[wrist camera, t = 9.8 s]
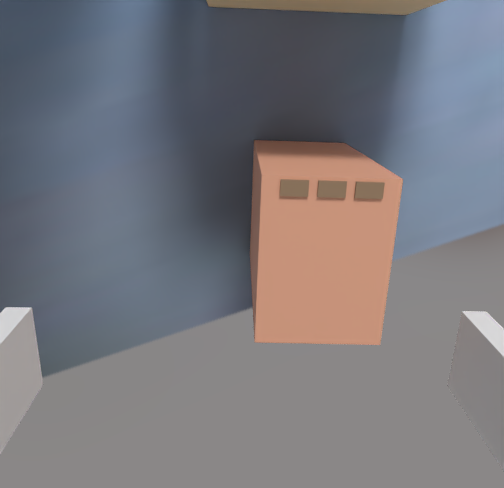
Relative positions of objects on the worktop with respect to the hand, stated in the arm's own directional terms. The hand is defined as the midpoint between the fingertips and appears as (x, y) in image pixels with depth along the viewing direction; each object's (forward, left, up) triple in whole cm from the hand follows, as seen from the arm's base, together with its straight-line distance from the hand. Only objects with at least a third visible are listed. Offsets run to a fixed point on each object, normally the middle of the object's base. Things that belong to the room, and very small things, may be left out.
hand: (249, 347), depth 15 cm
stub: (0, +4, -19) cm, 19 cm away
